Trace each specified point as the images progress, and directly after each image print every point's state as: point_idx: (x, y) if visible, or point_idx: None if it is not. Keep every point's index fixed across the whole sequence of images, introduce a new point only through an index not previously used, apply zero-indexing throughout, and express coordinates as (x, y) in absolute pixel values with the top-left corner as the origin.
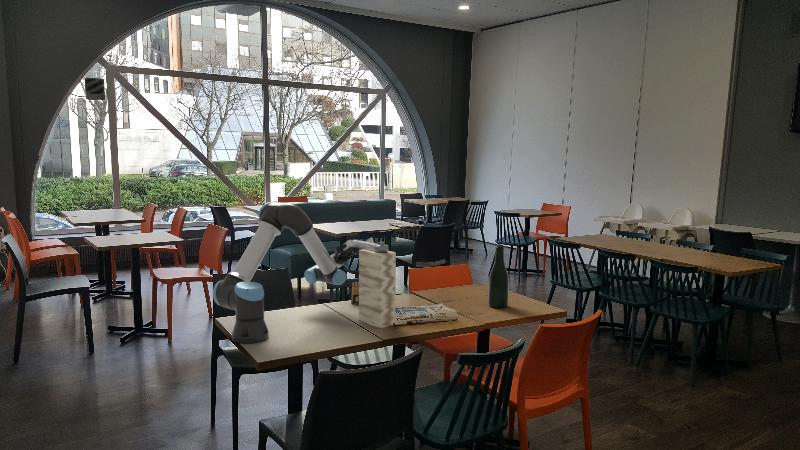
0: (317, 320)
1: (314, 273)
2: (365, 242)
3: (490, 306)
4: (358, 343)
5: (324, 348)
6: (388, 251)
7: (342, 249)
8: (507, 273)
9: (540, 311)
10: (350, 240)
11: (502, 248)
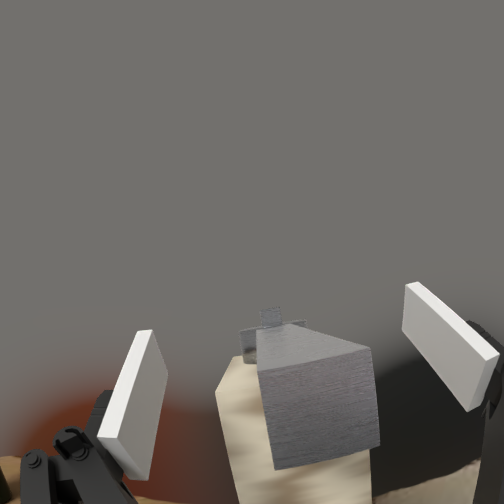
0: None
1: None
2: (284, 333)
3: (4, 502)
4: (431, 483)
5: None
6: (241, 360)
7: (494, 391)
8: None
9: (16, 466)
10: (406, 290)
11: None
